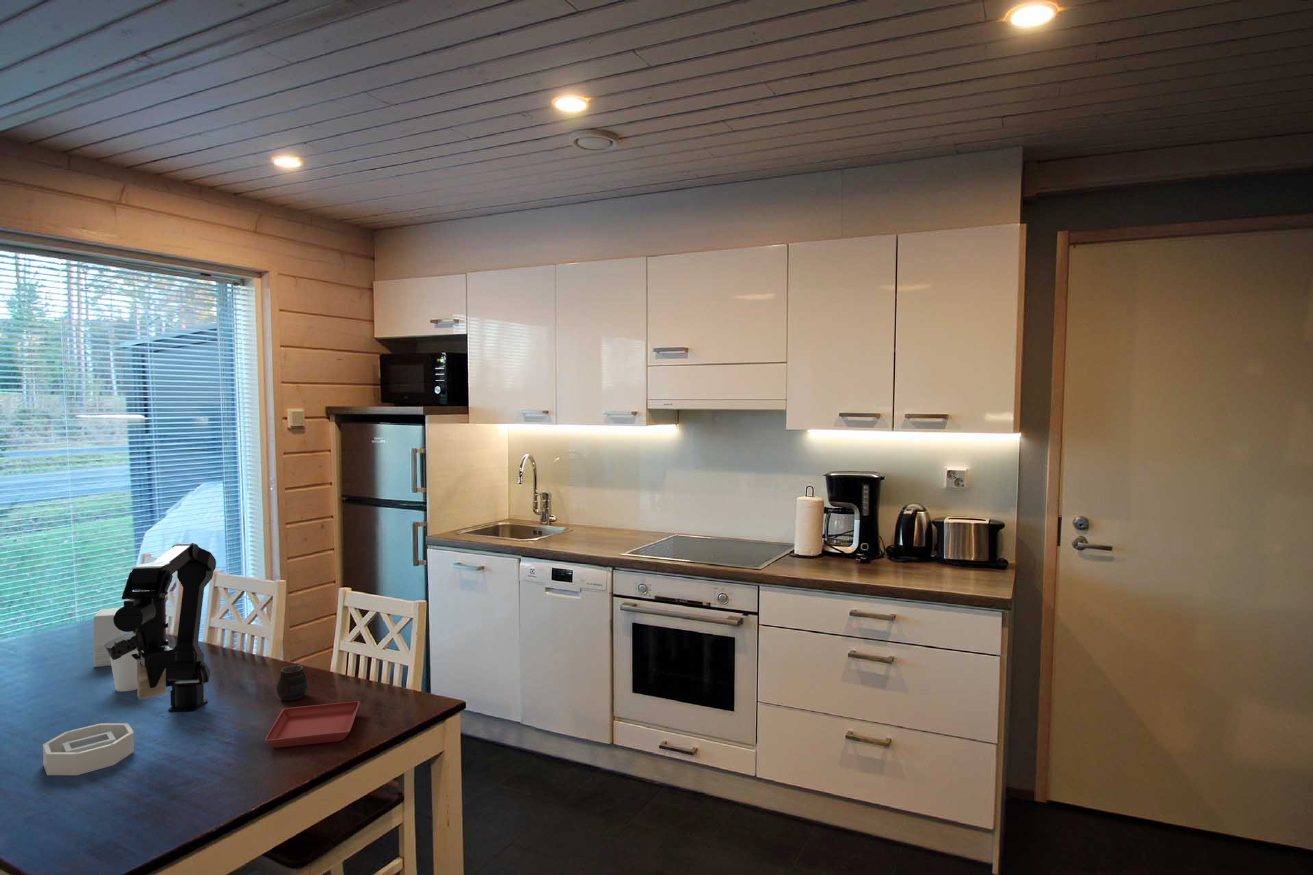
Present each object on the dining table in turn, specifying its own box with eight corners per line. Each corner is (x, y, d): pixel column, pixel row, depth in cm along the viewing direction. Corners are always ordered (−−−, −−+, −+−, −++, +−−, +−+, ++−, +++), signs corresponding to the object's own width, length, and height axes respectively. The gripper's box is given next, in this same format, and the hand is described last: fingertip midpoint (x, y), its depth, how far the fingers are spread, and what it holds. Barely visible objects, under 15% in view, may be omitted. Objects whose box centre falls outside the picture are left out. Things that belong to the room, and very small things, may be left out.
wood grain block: (165, 693, 168) (165, 655, 168) (139, 699, 165) (139, 660, 164) (163, 691, 170) (162, 653, 170) (137, 697, 166) (137, 658, 166)
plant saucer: (263, 753, 162) (263, 739, 162) (282, 720, 180) (282, 707, 180) (350, 744, 167) (350, 730, 167) (360, 713, 184) (360, 700, 184)
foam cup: (159, 681, 203) (158, 636, 203) (132, 694, 194) (131, 646, 194) (128, 680, 204) (127, 634, 204) (99, 692, 195) (99, 645, 195)
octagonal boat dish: (138, 758, 159) (138, 737, 159) (49, 782, 148) (49, 761, 148) (124, 736, 169) (123, 717, 169) (40, 757, 158) (40, 737, 158)
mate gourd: (299, 690, 198) (299, 654, 198) (312, 697, 194) (312, 660, 193) (272, 697, 193) (272, 660, 192) (285, 705, 188) (285, 667, 188)
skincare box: (100, 658, 221) (99, 608, 221) (126, 656, 224) (126, 606, 223) (92, 667, 214) (91, 615, 213) (119, 664, 216) (119, 613, 216)
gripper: (99, 618, 167) (99, 684, 168) (117, 635, 155) (117, 707, 155) (156, 609, 175) (156, 672, 176) (177, 624, 163) (178, 692, 163)
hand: (151, 685), depth 167 cm, fingers closed on wood grain block, 2 cm apart
